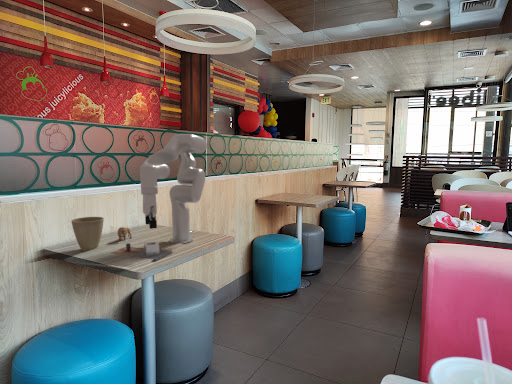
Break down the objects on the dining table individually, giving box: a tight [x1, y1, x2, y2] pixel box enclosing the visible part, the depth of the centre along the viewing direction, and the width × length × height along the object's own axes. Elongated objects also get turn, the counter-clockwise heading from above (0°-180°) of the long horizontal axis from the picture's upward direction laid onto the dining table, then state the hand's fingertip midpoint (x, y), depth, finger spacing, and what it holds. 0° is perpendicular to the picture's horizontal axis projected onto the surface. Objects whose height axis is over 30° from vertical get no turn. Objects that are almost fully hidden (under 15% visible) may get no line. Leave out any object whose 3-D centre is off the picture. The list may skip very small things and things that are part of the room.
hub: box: [130, 249, 173, 262], centre depth 167 cm, size 14×14×5 cm
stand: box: [111, 242, 144, 256], centre depth 172 cm, size 12×12×4 cm
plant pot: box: [71, 216, 105, 252], centre depth 178 cm, size 15×15×16 cm
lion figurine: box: [117, 226, 133, 241], centre depth 196 cm, size 15×5×9 cm, turn 6°
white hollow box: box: [143, 241, 160, 256], centre depth 167 cm, size 6×6×5 cm
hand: (151, 226), depth 166 cm, fingers open, 9 cm apart
